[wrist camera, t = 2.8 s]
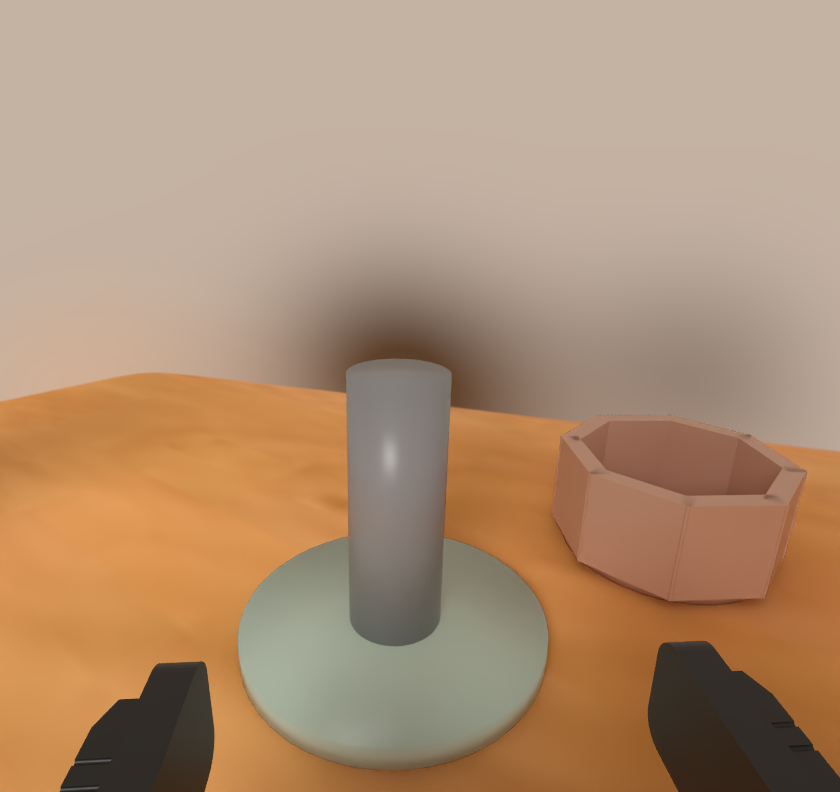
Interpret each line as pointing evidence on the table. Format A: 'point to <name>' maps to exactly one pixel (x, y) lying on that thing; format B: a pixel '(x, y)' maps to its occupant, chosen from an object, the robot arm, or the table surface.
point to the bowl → (676, 506)
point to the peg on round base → (393, 604)
